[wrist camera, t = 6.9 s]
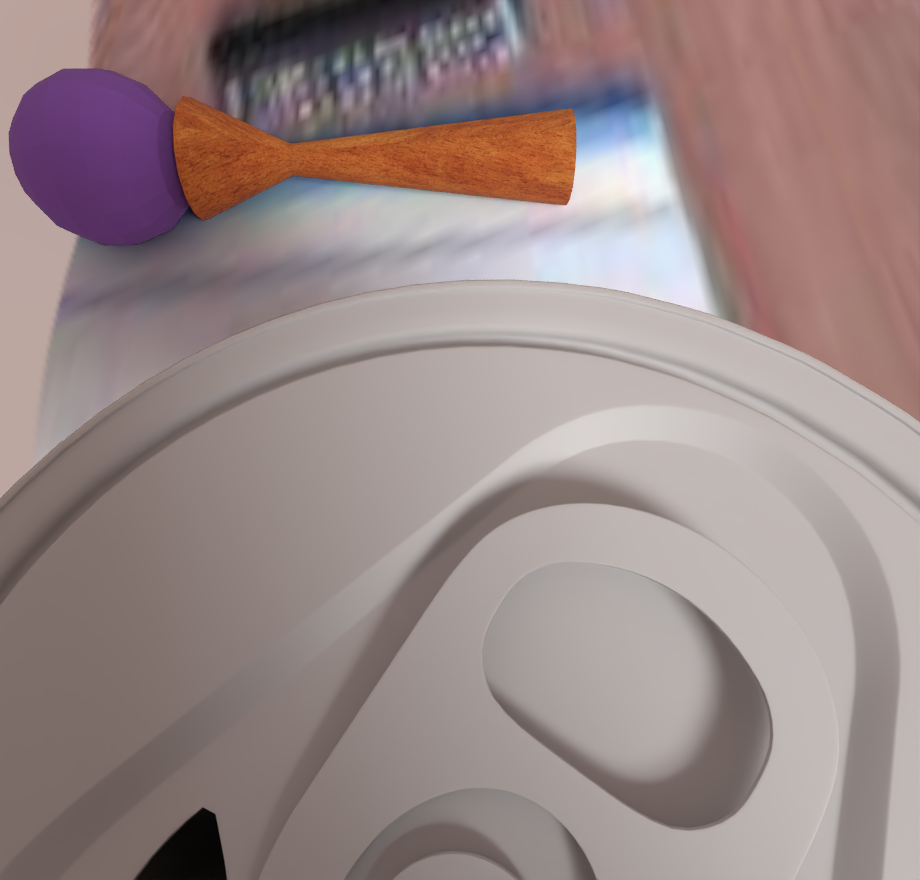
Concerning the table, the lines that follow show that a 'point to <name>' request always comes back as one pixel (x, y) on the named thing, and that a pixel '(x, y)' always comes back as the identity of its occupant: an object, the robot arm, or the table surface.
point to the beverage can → (469, 606)
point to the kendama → (247, 157)
